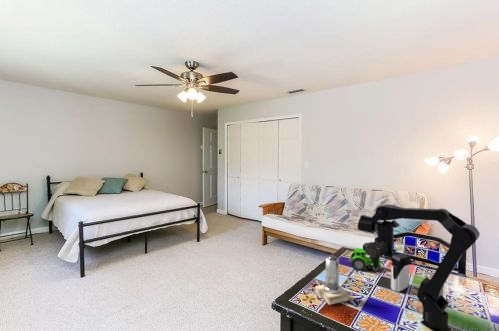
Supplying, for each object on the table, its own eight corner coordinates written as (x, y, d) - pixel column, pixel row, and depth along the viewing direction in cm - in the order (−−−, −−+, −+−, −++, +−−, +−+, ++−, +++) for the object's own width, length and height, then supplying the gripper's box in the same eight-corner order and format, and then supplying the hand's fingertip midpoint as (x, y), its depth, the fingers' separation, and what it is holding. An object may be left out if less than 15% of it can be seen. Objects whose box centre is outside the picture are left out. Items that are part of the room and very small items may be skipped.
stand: (349, 300, 106) (349, 293, 106) (329, 304, 103) (329, 297, 103) (333, 288, 116) (333, 282, 115) (315, 292, 112) (315, 286, 112)
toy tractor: (382, 274, 129) (382, 255, 129) (349, 270, 135) (349, 251, 134) (379, 265, 140) (379, 248, 139) (348, 262, 145) (348, 245, 145)
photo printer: (400, 282, 120) (400, 257, 120) (410, 286, 117) (410, 260, 116) (389, 289, 115) (389, 262, 114) (399, 293, 111) (399, 265, 111)
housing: (343, 290, 108) (344, 257, 108) (334, 295, 104) (334, 261, 104) (329, 283, 114) (329, 252, 113) (320, 288, 110) (320, 256, 109)
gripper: (352, 231, 107) (352, 267, 108) (390, 246, 90) (389, 288, 90) (372, 229, 111) (372, 263, 112) (412, 242, 94) (412, 283, 94)
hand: (385, 273), depth 102 cm, fingers open, 9 cm apart
